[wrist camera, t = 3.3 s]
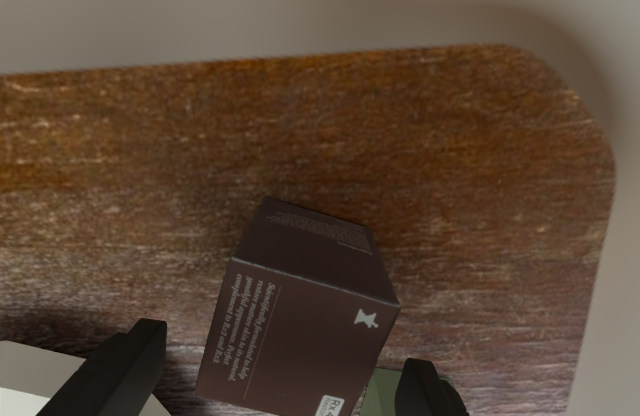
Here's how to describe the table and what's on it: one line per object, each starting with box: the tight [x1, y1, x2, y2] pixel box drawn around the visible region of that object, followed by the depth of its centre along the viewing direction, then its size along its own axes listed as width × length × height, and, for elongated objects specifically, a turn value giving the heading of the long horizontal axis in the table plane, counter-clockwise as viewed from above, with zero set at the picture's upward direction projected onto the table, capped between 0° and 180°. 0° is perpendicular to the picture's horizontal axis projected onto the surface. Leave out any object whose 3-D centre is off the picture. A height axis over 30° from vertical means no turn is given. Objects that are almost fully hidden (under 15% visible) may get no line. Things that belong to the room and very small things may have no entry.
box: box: [194, 197, 401, 416], centre depth 15 cm, size 6×6×7 cm
